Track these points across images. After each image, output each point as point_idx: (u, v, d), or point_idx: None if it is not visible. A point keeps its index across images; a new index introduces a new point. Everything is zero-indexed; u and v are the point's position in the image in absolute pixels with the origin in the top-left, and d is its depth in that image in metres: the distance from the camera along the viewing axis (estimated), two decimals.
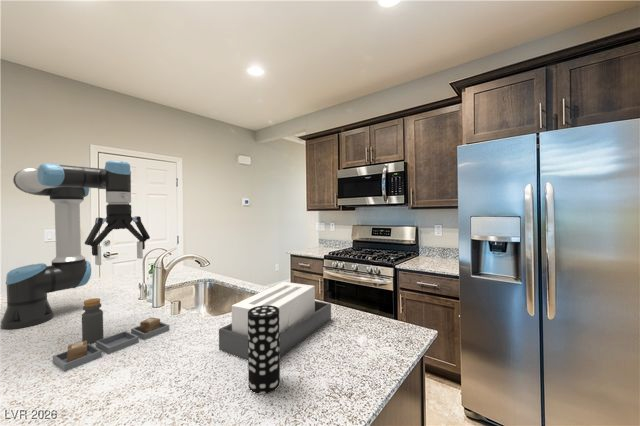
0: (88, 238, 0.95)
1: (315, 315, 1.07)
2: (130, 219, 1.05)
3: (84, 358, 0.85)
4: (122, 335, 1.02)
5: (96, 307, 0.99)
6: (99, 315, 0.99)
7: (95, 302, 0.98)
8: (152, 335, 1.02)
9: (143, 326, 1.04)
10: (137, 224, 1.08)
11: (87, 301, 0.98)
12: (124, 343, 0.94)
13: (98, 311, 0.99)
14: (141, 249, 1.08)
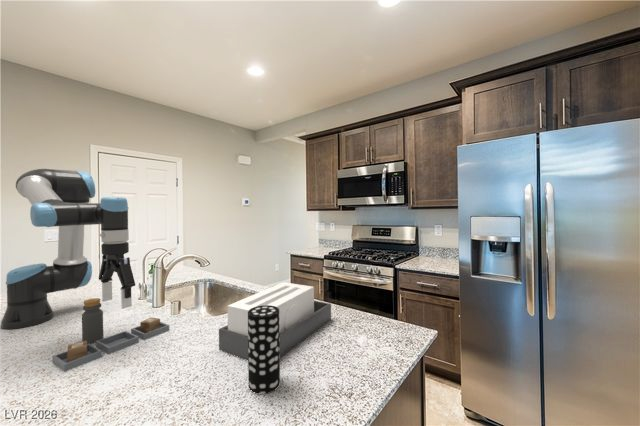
0: None
1: (315, 315, 1.07)
2: (116, 260, 0.93)
3: (84, 358, 0.85)
4: (122, 335, 1.02)
5: (96, 307, 0.99)
6: (99, 315, 0.99)
7: (95, 302, 0.98)
8: (152, 335, 1.02)
9: (143, 326, 1.04)
10: None
11: (87, 301, 0.98)
12: (124, 343, 0.94)
13: (98, 311, 0.99)
14: (122, 297, 0.92)
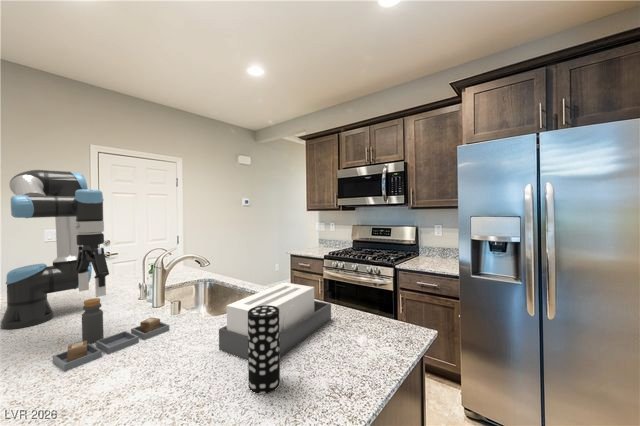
0: None
1: (315, 315, 1.07)
2: (91, 251, 0.96)
3: (84, 358, 0.85)
4: (122, 335, 1.02)
5: (96, 307, 0.99)
6: (99, 315, 0.99)
7: (95, 302, 0.98)
8: (152, 335, 1.02)
9: (143, 326, 1.04)
10: None
11: (87, 301, 0.98)
12: (124, 343, 0.94)
13: (98, 311, 0.99)
14: (96, 286, 0.95)
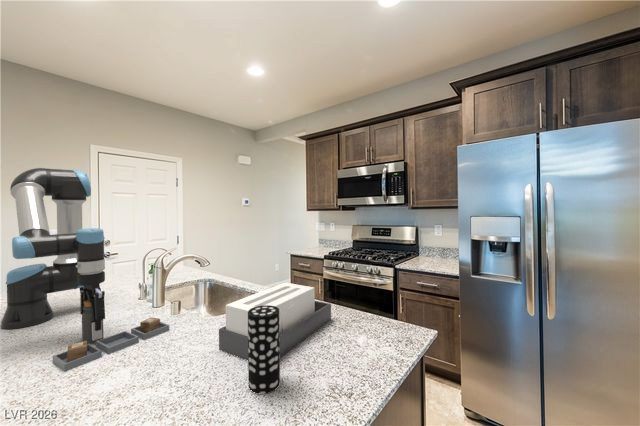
0: None
1: (315, 315, 1.07)
2: (92, 291, 0.97)
3: (84, 358, 0.85)
4: (122, 335, 1.02)
5: None
6: None
7: None
8: (152, 335, 1.02)
9: (143, 326, 1.04)
10: None
11: (87, 301, 0.98)
12: (124, 343, 0.94)
13: None
14: (92, 330, 0.97)
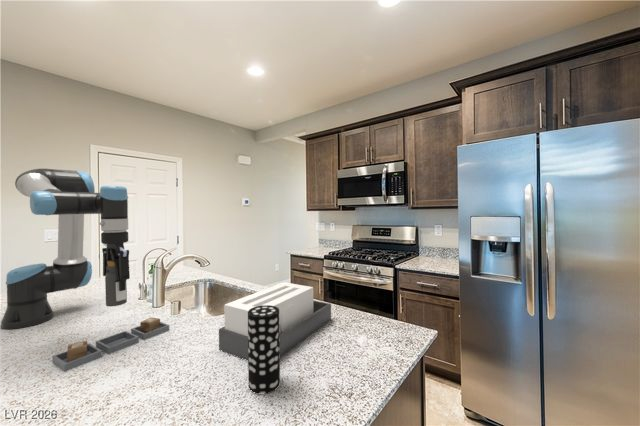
0: None
1: (315, 315, 1.07)
2: (116, 249, 0.93)
3: (84, 358, 0.85)
4: (122, 335, 1.02)
5: None
6: None
7: None
8: (152, 335, 1.02)
9: (143, 326, 1.04)
10: None
11: (111, 261, 0.95)
12: (124, 343, 0.94)
13: None
14: (116, 290, 0.94)
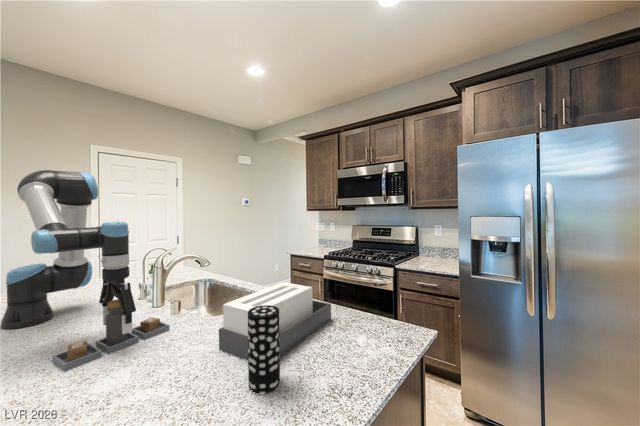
0: None
1: (315, 315, 1.07)
2: (117, 286, 0.94)
3: (84, 358, 0.85)
4: None
5: (120, 308, 0.96)
6: None
7: (119, 303, 0.96)
8: (152, 335, 1.02)
9: (143, 326, 1.04)
10: None
11: (111, 302, 0.95)
12: (124, 343, 0.94)
13: (122, 312, 0.97)
14: (122, 323, 0.92)
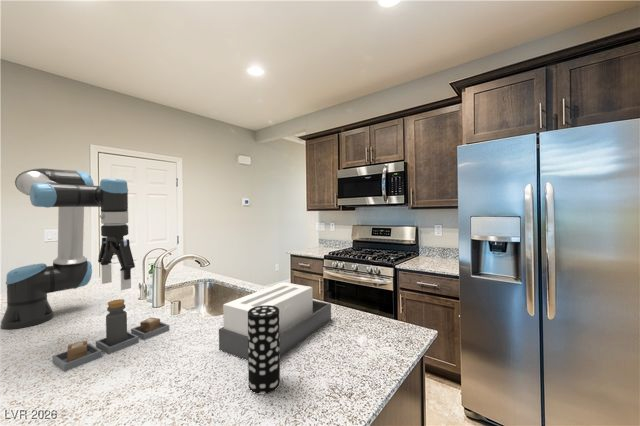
0: None
1: (315, 315, 1.07)
2: (116, 242, 0.93)
3: (84, 358, 0.85)
4: None
5: (120, 308, 0.96)
6: (124, 317, 0.96)
7: (119, 303, 0.96)
8: (152, 335, 1.02)
9: (143, 326, 1.04)
10: None
11: (111, 302, 0.95)
12: (124, 343, 0.94)
13: (122, 313, 0.97)
14: (121, 279, 0.92)
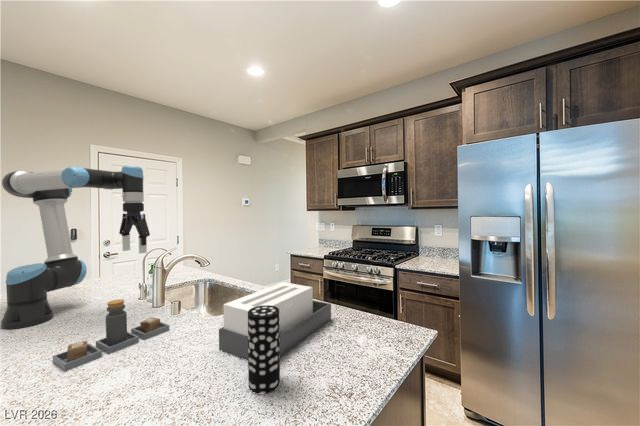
0: None
1: (315, 315, 1.07)
2: (134, 216, 1.18)
3: (84, 358, 0.85)
4: None
5: (120, 308, 0.96)
6: (124, 317, 0.96)
7: (119, 303, 0.96)
8: (152, 335, 1.02)
9: (143, 326, 1.04)
10: None
11: (111, 302, 0.95)
12: (124, 343, 0.94)
13: (122, 312, 0.97)
14: (139, 244, 1.16)
